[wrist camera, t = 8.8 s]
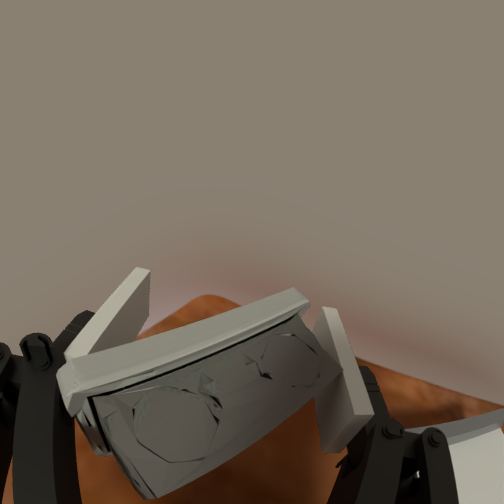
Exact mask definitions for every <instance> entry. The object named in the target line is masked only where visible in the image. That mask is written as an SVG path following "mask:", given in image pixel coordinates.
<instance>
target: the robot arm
mask: <svg viewBox="0 0 504 504" xmlns="http://www.w3.org/2000/svg"><path fill="white" fill-rule="evenodd" d="M149 290H150V270H146V269H142V268H138V267H136V268H135V269H134V270H133V272H132V273H131V274H130V275H129V276H128V277H127V278H126V279H125V280H124V281H123V282H122V284H121V285H120V286H119V287H118V288H117V289H116V290H115V291H114V293H113V294H112V295H111V296H110V297H109V298H108V299H107V301H106V302H105V303H104V304H103V305H102V307H101V308H100V309H99V310H98V311H97V312H96V313H94V312H91V311H88V310H86V311H84V312H82V313H80V314H78V315H77V316H76V317H75V318H74V319H73V320H72V321H71V322H70V324H69V325H68V326H67V327H66V328H65V330H63V331H62V333H61V334H60V335H59V336H58V337H57V338H56V340H55V341H54V342H53V343H52V341H51V339H50V337H48V336H47V335H45V334H42V333H32V334H29V335H27V336H25V337H24V338H23V339H22V340H21V342H20V344H19V345H20V348H21V350H22V353H23V356H24V357H22V356H18V355H13V354H12V353H11V351H10V349H9V347H8V345H6V344H4V343H0V504H2V498H3V493H4V488H5V483H6V479H7V474H8V470H9V466H10V463H11V459H12V455H13V466H12V475H13V498H14V504H82V501H81V494H80V488H79V480H78V472H77V462H76V448H75V423H74V416H73V417H71V415H70V414H69V412H68V411H67V409H66V406H65V404H64V401H63V398H62V394H61V391H60V388H59V384H58V381H57V377H56V374H57V372H58V370H59V369H60V368H61V367H62V366H63V365H64V364H66V363H67V362H68V361H69V360H70V359H73V358H77V357H81V356H84V355H88V354H92V353H96V352H99V351H103V350H106V349H110V348H114V347H117V346H121V345H124V344H127V343H131V342H134V340H135V338H136V337H137V335H138V333H139V331H140V330H141V328H142V326H143V325H144V323H145V321H146V319H147V318H148V316H149V292H150V291H149ZM312 333H313V334H314V335H315V337H316V338H317V340H318V342H319V344H320V345H321V347H322V348H323V349H324V350H325V351H326V352H327V353H328V354H329V355H330V356H331V357H332V358H333V359H334V360H335V361H336V362H337V363H338V364H339V365H340V366H341V367H342V368H343V369H344V370H343V371H342V372H341V373H340V374H339V375H338V376H337V377H335V378H334V379H333V380H332V381H331V382H330V383H329V384H328V385H327V386H326V387H325V388H323V389H322V390H321V391H320V392H319V393H318V394H317V395H315V396H314V401H315V407H316V413H317V420H318V427H319V434H320V441H321V448H322V453H340V452H341V451H342V450H343V449H344V448H345V447H346V446H347V449H348V454H347V455H346V456H345V457H344V458H343V459H342V460H341V461H340V462H339V463H338V464H337V465H336V468H338V467H339V466H340V465H341V464H342V465H341V468H340V471H339V474H338V476H337V479H336V482H335V484H334V487H333V489H332V492H331V494H330V497H329V499H328V502H327V504H459V499H458V492H457V486H456V480H455V474H454V469H453V464H452V459H451V455H450V450H449V446H448V442H447V438H446V436H445V434H444V433H443V432H442V431H441V430H439V429H438V428H435V427H429V428H427V429H425V430H424V431H423V432H422V433H421V434H418V433H412V432H407V431H405V430H404V428H403V426H402V425H401V424H400V423H399V422H398V421H396V420H394V419H391V418H390V415H389V413H388V410H387V407H386V404H385V402H384V399H383V396H382V394H381V393H380V389H379V386H378V385H377V384H378V383H377V381H376V378H375V376H374V374H373V373H372V372H371V370H370V369H369V368H368V367H367V366H358V365H357V362H356V359H355V356H354V354H353V351H352V348H351V346H350V343H349V340H348V337H347V335H346V332H345V330H344V327H343V325H342V322H341V319H340V317H339V314H338V312H337V309H335V308H329V307H322V309H321V311H320V314H319V317H318V319H317V321H316V324H315V326H314V329H313V331H312ZM417 472H419V477H418V476H417Z"/></svg>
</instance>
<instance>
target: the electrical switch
mask: <svg viewBox="0 0 504 504" xmlns="http://www.w3.org/2000/svg"><path fill="white" fill-rule="evenodd" d="M309 307H310V301H309V300H308V299H307V298H305V297H304V296H303V295H302V294H301V293H299V292H298V291H297V290H296V289H295V288H291V289H288V290H285V291H283V292H280V293H277V294H275V295H272V296H269V297H266V298H264V299H261V300H258V301H256V302H253V303H250V304H247V305H244V306H242V307H239V308H236V309H233V310H230V311H227V312H224V313H222V314H219V315H216V316H213V317H210V318H207V319H204V320H201V321H198V322H195V323H192V324H189V325H186V326H183V327H180V328H176V329H173V330H170V331H167V332H164V333H161V334H157V335H154V336H151V337H148V338H144V339H141V340H138V341H134V342H131V343H127V344H124V345H121V346H117V347H114V348H110V349H106V350H103V351H99V352H96V353H92V354H88V355H84V356H81V357H77V358H73V359H70V360H69V361H68V362H67V363H66V364H64V365H63V366H62V367H61V368H60V369H59V370H58V372H57V374H56V377H57V381H58V384H59V388H60V391H61V394H62V398H63V401H64V404H65V406H66V409H67V411H68V412H69V414H70V415H71V417H73V416H75V418H76V420H77V422H78V424H79V426H80V428H81V430H82V431H83V433H84V435H85V437H86V439H87V440H88V442H89V444H90V445H91V447H92V449H93V450H94V453H95V454H96V456H103V457H106V456H109V455H112V454H113V456H114V458H115V459H116V461H117V463H118V465H119V466H120V468H121V470H122V471H123V473H124V475H125V476H126V478H127V479H128V480H129V481H130V483H131V484H132V485H133V487H134V488H135V490H136V491H137V492H138V493H139V495H140V496H141V497H142V498H143V499H155V498H154V496H153V495H156V496H157V498H159V497H161V496H164V495H166V494H168V493H170V492H172V491H174V490H176V489H178V488H180V487H182V486H184V485H186V484H188V483H190V482H192V481H193V480H195V479H197V478H199V477H201V476H203V475H204V474H206V473H208V472H210V471H211V470H213V469H215V468H216V467H218V466H220V465H221V464H223V463H225V462H226V461H228V460H229V459H231V458H233V457H234V456H236V455H237V454H239V453H240V452H242V451H243V450H245V449H246V448H248V447H249V446H251V445H252V444H254V443H255V442H257V441H258V440H259V439H261V438H262V437H264V436H265V435H266V434H268V433H269V432H271V431H272V430H273V429H275V428H276V427H277V426H279V425H280V424H281V423H282V422H284V421H285V420H286V419H288V418H289V417H290V416H291V415H293V414H294V413H295V412H296V411H298V410H299V409H300V408H301V407H302V406H304V405H305V404H306V403H307V402H308V401H310V400H311V399H312V398H313V397H314V396H315V395H317V394H318V393H319V392H320V391H321V390H322V389H323V388H325V387H326V386H327V385H328V384H329V383H330V382H331V381H332V380H333V379H334V378H335V377H337V376H338V375H339V374H340V373H341V372H342V371H343V370H344V369H343V368H342V367H341V366H340V365H339V364H338V363H337V362H336V361H335V360H334V359H333V358H332V357H331V356H330V355H329V354H328V353H327V352H326V351H325V350H324V349H323V348H322V347H321V345H320V344H319V342H318V340H317V338H316V337H315V335H314V334H313V333H312V332H311V331H310V330H309V329H308V328H307V327H306V326H305V324H304V323H303V321H302V320H301V316H302V315H303V314H304V313H305V312H306V311H307V310H308V308H309Z"/></svg>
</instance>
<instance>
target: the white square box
mask: <svg viewBox="0 0 504 504" xmlns="http://www.w3.org/2000/svg"><path fill="white" fill-rule="evenodd" d="M503 424H504V408H502V409H498V410H495V411H492V412H488V413H485V414H481V415H478V416H474V417H470V418H466V419H461V420H457V421H452V422H447V423H442V424H437V425H431V426H425V427H418V428H410V429H404V430H405V431H407V432H412V433H418V434H421V433H422V432H423V431H424V430H425V429H427V428H429V427H435V428H438V429H439V430H441V431H442V432H443V433H444V434H445V436H446V438H447V442H448V446H449V450H450V455H451V459H452V464H453V469H454V474H455V480H456V486H457V492H458V499H459V504H504V434H503V432H502V431H501V429H500V427H501V426H502V425H503ZM417 476H418V477H419V472H417Z"/></svg>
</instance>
